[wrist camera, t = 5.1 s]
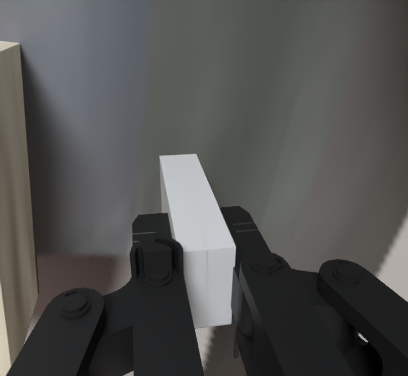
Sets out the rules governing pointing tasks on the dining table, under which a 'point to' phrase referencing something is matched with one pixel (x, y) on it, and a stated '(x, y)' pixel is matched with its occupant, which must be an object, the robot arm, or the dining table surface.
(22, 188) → the maple block
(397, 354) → the robot arm
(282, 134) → the dining table surface
